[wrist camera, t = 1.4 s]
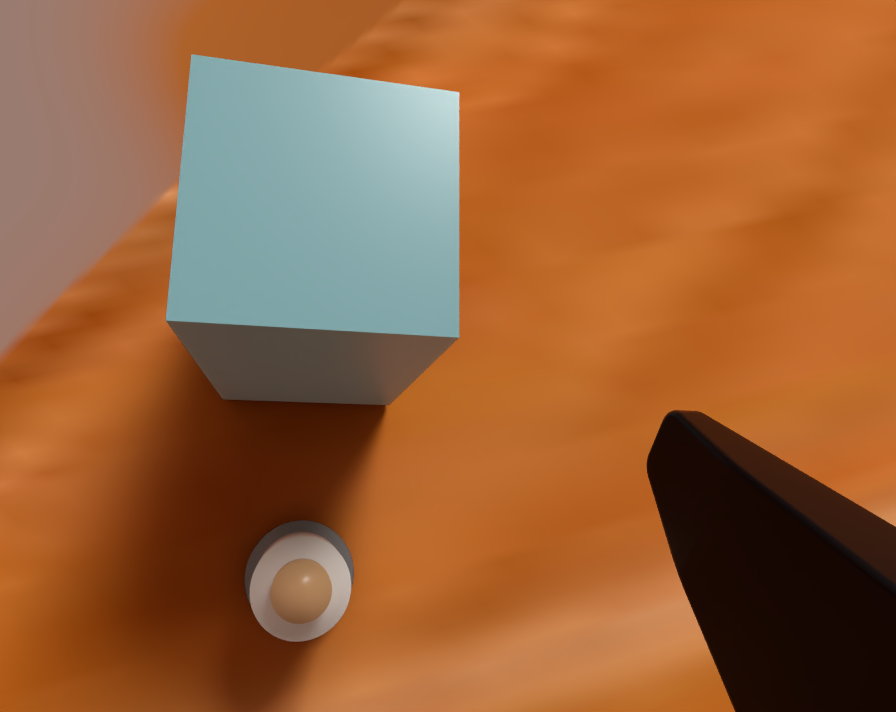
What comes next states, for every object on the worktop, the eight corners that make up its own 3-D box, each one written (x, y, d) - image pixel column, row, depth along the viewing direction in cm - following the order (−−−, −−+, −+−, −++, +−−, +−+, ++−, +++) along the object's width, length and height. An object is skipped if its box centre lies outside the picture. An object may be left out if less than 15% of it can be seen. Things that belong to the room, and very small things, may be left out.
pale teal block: (389, 405, 21) (458, 337, 12) (222, 399, 20) (165, 320, 11) (392, 255, 22) (459, 92, 13) (234, 241, 21) (191, 54, 12)
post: (313, 648, 19) (318, 686, 15) (223, 592, 19) (206, 617, 15) (371, 555, 20) (390, 568, 16) (286, 500, 20) (285, 501, 16)
